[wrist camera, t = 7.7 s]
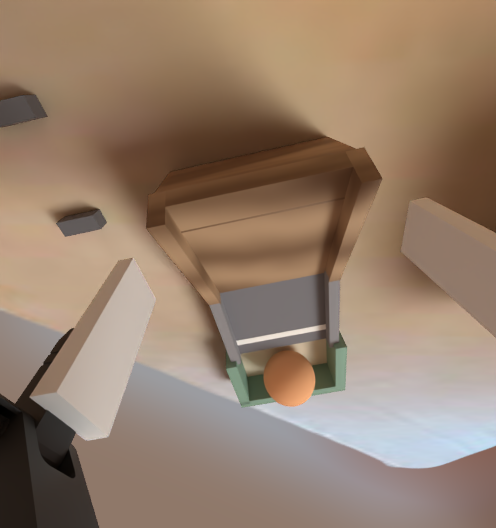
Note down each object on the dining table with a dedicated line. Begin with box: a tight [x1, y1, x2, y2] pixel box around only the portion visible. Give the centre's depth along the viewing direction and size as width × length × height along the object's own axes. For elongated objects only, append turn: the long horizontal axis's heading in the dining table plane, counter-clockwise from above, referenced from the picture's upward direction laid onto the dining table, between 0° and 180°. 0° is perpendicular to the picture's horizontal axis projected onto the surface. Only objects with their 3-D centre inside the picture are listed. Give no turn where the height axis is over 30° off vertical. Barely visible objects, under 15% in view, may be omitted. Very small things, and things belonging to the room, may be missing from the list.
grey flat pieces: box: [0, 95, 107, 237], centre depth 18 cm, size 9×3×1 cm, turn 11°
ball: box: [264, 350, 315, 406], centre depth 30 cm, size 6×6×6 cm
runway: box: [209, 271, 340, 364], centre depth 26 cm, size 10×12×3 cm
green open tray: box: [226, 331, 347, 407], centre depth 31 cm, size 9×13×4 cm, turn 101°
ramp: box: [146, 137, 382, 305], centre depth 19 cm, size 12×12×8 cm
